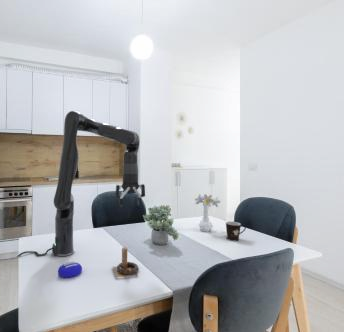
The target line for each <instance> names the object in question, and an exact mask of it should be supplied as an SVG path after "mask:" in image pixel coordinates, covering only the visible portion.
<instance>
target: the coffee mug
mask: <svg viewBox="0 0 344 332" xmlns="http://www.w3.org/2000/svg"><path fill="white" fill-rule="evenodd" d="M241 227H243V228H244V229H243V230H242V231H241ZM225 228H226V229H225V230H226V238H227V239H226V240H229V241H233V242H238V241H239V239H240V235H241V234H243V233H244V232H245V231H246V225H244V224H242V223H240V222H237V221H230V220H229V221H225Z"/></svg>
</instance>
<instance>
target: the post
mask: <svg viewBox="0 0 344 332" xmlns="http://www.w3.org/2000/svg"><path fill="white" fill-rule="evenodd" d="M127 262H128V247H122V248H121V263H122V269H125V270H131V269H134V268H133V267H127ZM112 269H113V271H114V274H115V277H116V278H119V277H129V276H137V275H138V273H135V274H132V275H125V274H121V273H119V272H118V271H117V266H112Z"/></svg>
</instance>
